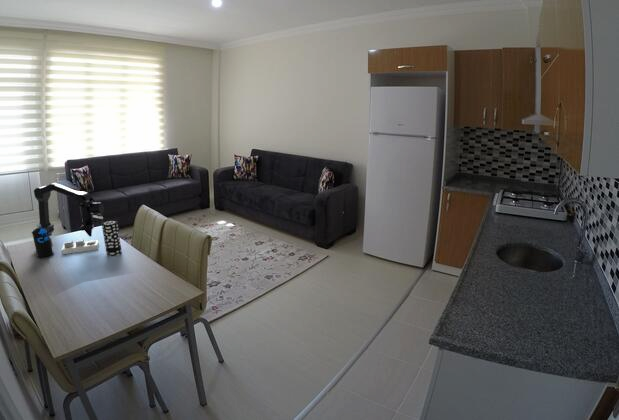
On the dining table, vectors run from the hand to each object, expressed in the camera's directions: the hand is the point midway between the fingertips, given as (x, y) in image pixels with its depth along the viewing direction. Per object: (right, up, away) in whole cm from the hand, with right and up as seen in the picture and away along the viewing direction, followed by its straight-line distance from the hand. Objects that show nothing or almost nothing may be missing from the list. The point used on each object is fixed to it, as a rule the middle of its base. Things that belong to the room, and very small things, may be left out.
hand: (90, 236), depth 228 cm
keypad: (-6, -8, 0) cm, 10 cm away
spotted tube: (+18, -10, -6) cm, 22 cm away
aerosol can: (-21, -11, -11) cm, 26 cm away
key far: (0, -6, +2) cm, 7 cm away
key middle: (-6, -5, -1) cm, 8 cm away
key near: (-11, -6, -4) cm, 13 cm away
